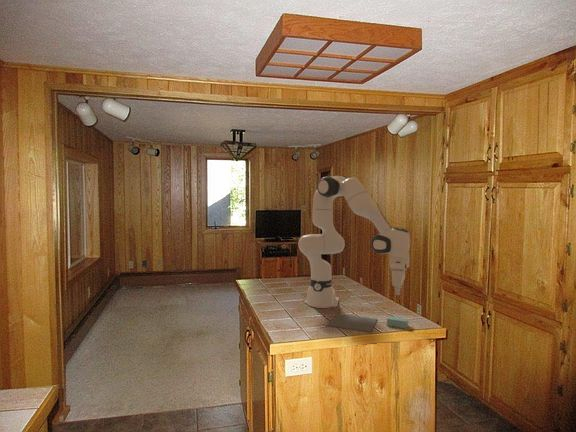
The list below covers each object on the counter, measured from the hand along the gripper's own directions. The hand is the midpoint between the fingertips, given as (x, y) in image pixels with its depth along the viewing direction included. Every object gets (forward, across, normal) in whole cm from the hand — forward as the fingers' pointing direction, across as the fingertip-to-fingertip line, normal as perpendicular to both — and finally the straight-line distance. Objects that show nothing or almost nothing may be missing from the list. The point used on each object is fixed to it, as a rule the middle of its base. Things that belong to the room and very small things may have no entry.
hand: (398, 292), depth 177 cm
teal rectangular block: (+16, 0, 0) cm, 16 cm away
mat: (+16, +5, -20) cm, 26 cm away
